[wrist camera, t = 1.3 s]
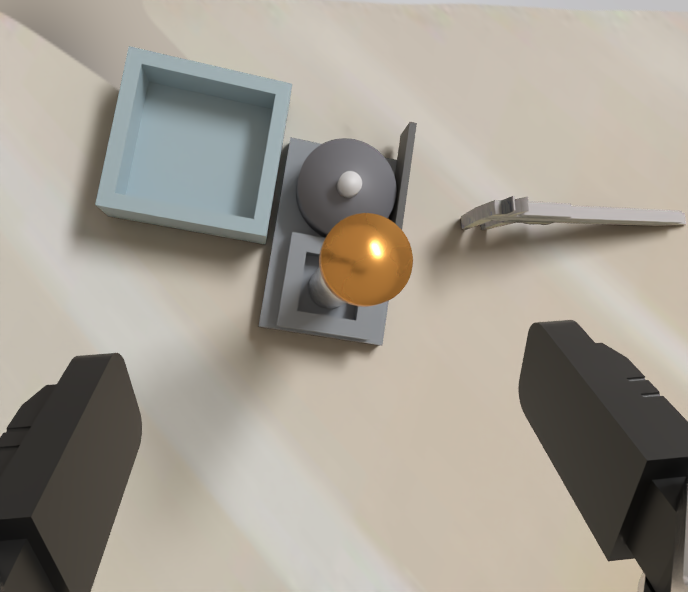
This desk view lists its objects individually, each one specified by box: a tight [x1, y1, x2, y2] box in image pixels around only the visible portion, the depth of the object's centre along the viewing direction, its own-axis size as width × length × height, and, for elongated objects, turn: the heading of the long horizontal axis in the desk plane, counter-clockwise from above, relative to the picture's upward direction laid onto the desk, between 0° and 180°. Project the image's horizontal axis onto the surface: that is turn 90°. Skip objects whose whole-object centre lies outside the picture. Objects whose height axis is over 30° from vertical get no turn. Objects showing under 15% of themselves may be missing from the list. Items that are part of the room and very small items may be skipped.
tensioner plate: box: [259, 122, 417, 345], centre depth 36 cm, size 9×16×4 cm, turn 171°
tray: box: [95, 46, 292, 244], centre depth 36 cm, size 11×11×3 cm
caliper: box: [461, 196, 686, 230], centre depth 39 cm, size 20×1×6 cm, turn 93°
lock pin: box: [308, 213, 413, 309], centre depth 30 cm, size 4×4×13 cm
